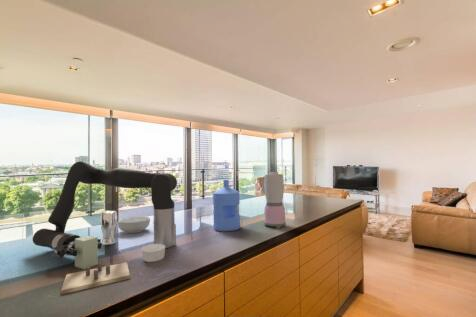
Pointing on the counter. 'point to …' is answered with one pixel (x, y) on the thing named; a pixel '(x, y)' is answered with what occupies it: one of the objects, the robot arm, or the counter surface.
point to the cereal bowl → (133, 224)
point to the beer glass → (108, 227)
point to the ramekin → (153, 252)
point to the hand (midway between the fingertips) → (88, 249)
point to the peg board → (95, 277)
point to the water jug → (226, 208)
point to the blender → (274, 199)
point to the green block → (86, 251)
